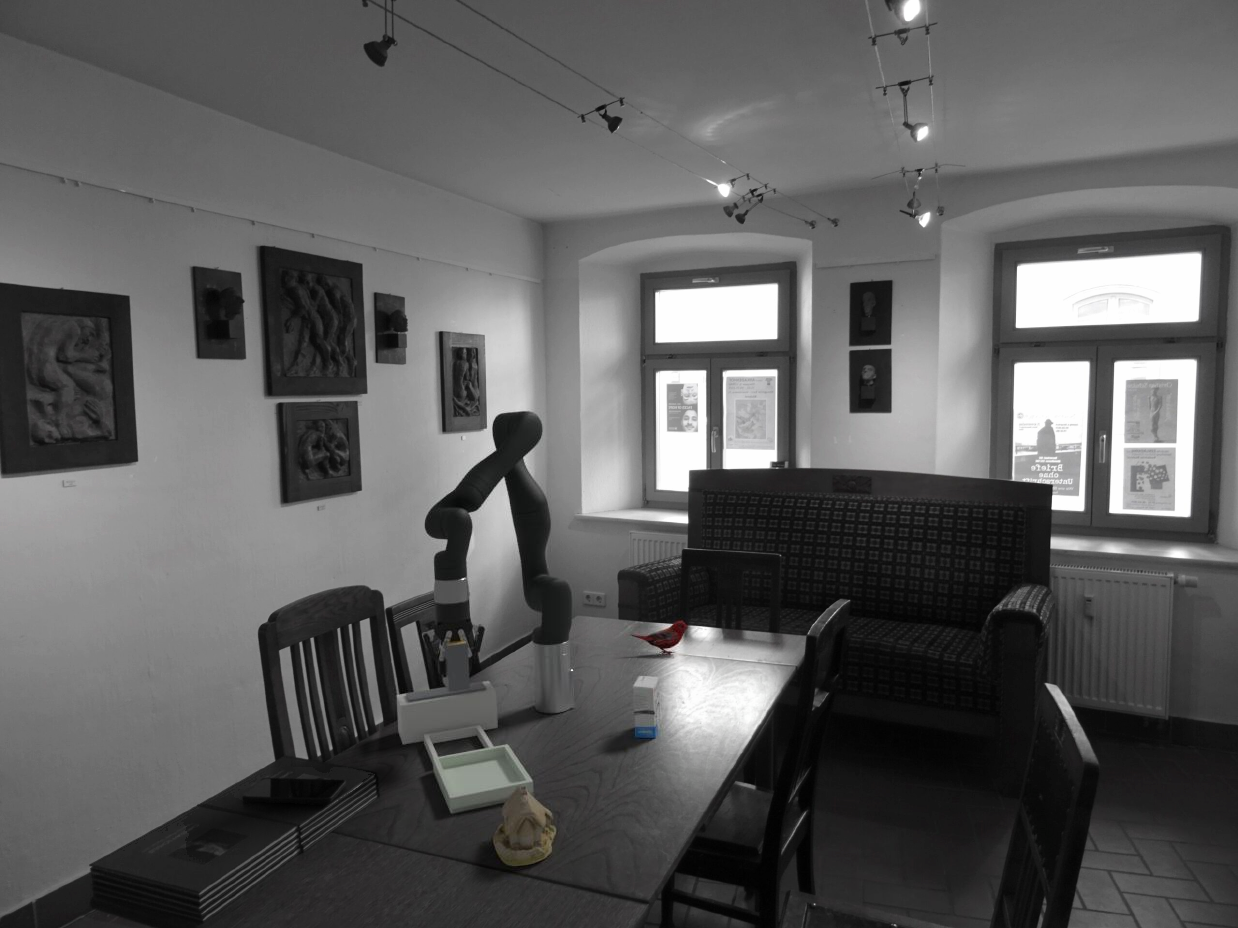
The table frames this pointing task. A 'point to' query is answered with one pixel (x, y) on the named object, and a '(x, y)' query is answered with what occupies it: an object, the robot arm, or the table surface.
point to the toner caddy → (456, 666)
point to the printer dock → (447, 715)
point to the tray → (480, 777)
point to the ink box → (646, 707)
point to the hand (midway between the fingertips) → (455, 674)
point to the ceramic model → (524, 830)
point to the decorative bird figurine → (666, 637)
